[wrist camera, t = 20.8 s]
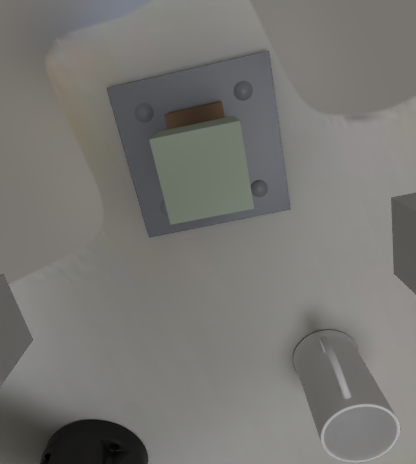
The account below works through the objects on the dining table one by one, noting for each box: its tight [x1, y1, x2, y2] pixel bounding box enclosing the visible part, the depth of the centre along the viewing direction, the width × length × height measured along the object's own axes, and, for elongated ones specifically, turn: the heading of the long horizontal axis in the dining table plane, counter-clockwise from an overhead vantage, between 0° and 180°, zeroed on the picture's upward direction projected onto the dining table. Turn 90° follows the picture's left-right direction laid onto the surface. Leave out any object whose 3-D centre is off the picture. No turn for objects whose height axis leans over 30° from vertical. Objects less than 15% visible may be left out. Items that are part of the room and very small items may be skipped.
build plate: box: [107, 51, 290, 237], centre depth 39 cm, size 16×16×2 cm
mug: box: [293, 330, 400, 462], centre depth 43 cm, size 12×8×12 cm
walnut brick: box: [164, 101, 225, 129], centre depth 35 cm, size 5×9×6 cm, turn 12°
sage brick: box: [149, 116, 254, 225], centre depth 30 cm, size 6×6×6 cm
